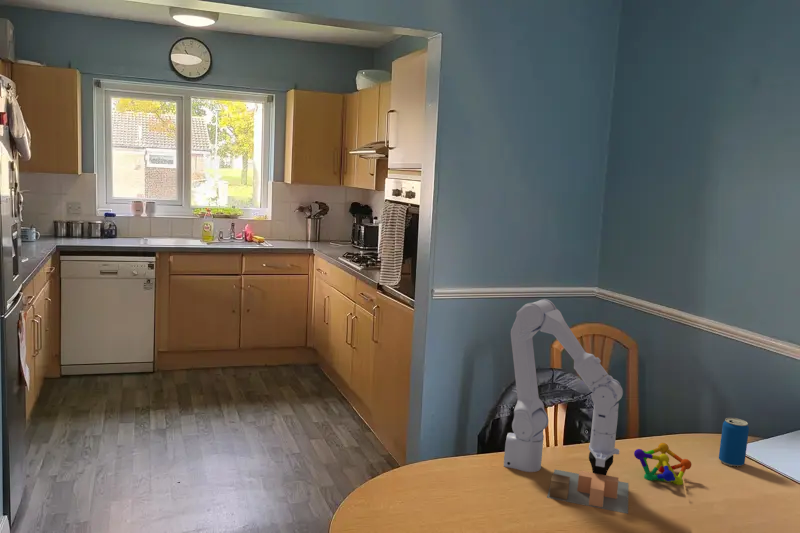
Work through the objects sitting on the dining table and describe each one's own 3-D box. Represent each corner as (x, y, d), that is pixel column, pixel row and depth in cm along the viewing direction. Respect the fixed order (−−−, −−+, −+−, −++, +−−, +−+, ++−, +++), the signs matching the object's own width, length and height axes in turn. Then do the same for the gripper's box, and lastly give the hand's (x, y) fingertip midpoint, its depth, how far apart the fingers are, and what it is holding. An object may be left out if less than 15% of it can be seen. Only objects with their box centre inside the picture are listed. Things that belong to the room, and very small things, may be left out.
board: (546, 501, 158) (546, 497, 158) (554, 473, 174) (554, 469, 174) (627, 517, 153) (628, 513, 152) (628, 486, 169) (628, 483, 168)
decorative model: (705, 469, 172) (672, 466, 163) (688, 498, 174) (655, 496, 165) (664, 439, 182) (632, 434, 173) (649, 467, 184) (616, 463, 175)
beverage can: (720, 456, 192) (725, 415, 190) (746, 462, 188) (751, 421, 187) (716, 463, 187) (721, 421, 185) (741, 470, 183) (747, 427, 181)
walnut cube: (549, 496, 159) (550, 480, 158) (551, 489, 162) (552, 473, 162) (566, 500, 157) (568, 483, 157) (568, 492, 161) (569, 476, 161)
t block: (578, 486, 165) (579, 470, 165) (616, 493, 162) (618, 477, 162) (575, 502, 157) (576, 485, 156) (616, 510, 154) (617, 493, 153)
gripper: (620, 443, 155) (614, 499, 157) (621, 423, 169) (616, 475, 171) (588, 438, 157) (583, 493, 159) (592, 418, 171) (587, 469, 173)
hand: (598, 483), depth 165 cm, fingers closed
